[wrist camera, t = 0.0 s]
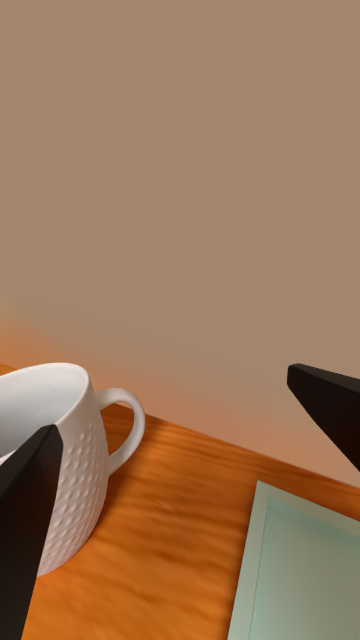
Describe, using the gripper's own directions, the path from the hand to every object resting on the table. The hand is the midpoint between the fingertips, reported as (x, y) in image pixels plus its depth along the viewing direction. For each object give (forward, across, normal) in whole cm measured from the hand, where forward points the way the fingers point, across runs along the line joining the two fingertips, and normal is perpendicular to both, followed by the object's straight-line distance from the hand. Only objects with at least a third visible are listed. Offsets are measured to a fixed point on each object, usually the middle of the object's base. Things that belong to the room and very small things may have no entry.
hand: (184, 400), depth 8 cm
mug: (+9, +10, +17) cm, 21 cm away
